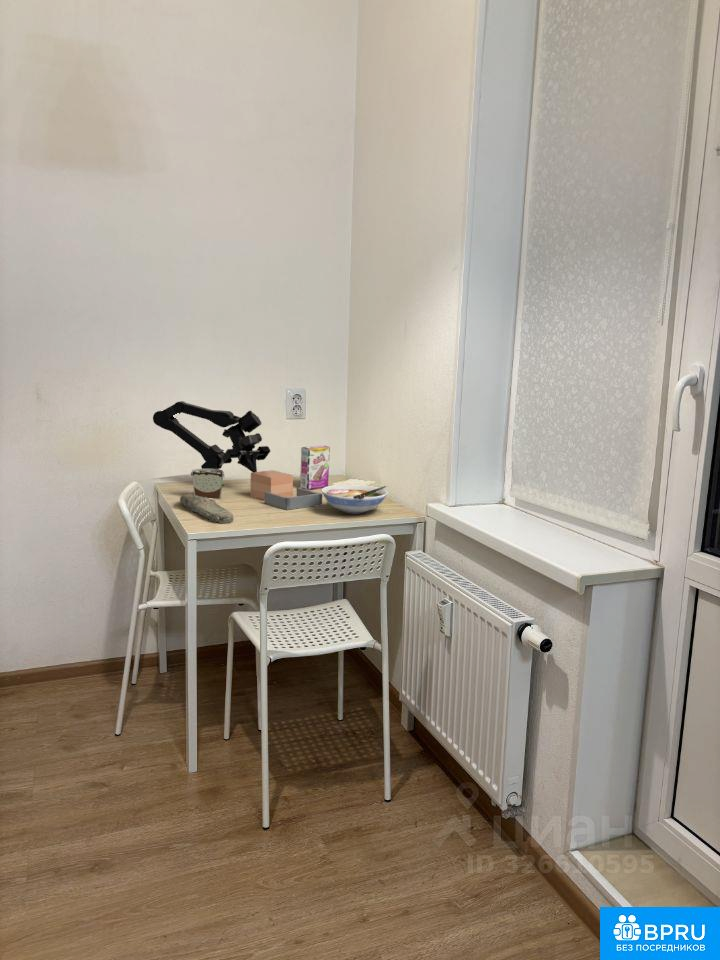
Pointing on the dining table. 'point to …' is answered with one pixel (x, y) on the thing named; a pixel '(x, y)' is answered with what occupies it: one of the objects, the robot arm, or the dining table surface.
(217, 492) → the food container
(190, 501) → the elongated rock
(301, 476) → the candy bar box
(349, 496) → the ramen bowl
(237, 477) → the dining table surface
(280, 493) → the tile stack
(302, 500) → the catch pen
